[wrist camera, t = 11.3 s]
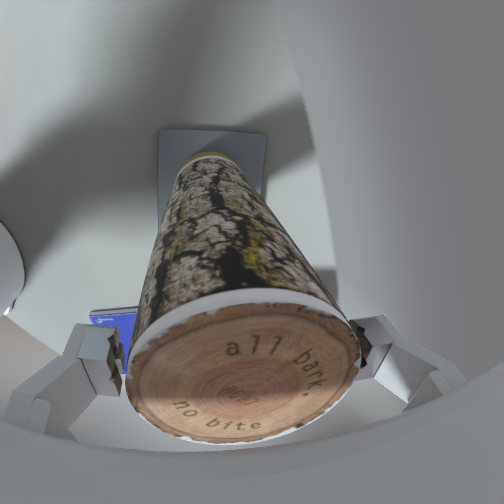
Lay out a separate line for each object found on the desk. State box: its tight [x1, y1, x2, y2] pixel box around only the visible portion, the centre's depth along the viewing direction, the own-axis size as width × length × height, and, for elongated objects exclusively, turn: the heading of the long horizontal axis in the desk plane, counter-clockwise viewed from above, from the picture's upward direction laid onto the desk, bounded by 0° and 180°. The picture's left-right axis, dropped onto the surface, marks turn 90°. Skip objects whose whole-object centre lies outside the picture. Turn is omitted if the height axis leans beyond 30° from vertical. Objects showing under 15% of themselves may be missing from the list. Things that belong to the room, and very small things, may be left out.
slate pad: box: [158, 130, 267, 231], centre depth 30 cm, size 11×11×1 cm
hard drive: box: [89, 308, 138, 374], centre depth 38 cm, size 2×8×12 cm
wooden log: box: [125, 151, 361, 445], centre depth 18 cm, size 7×7×25 cm
